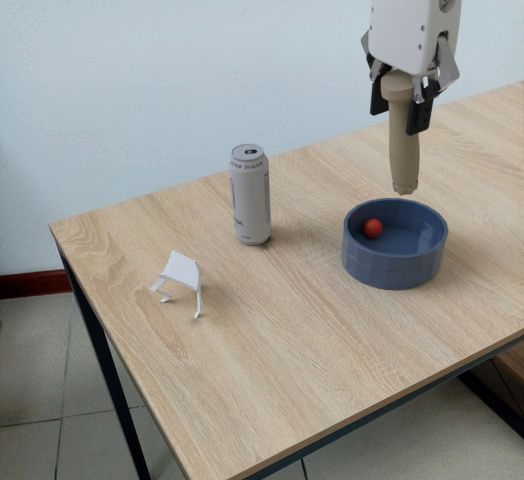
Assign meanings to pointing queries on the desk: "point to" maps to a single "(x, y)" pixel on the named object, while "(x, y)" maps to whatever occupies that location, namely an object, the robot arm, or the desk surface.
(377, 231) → the bead
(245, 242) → the energy drink can
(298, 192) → the desk surface
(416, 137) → the handle
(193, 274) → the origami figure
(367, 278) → the bowl
